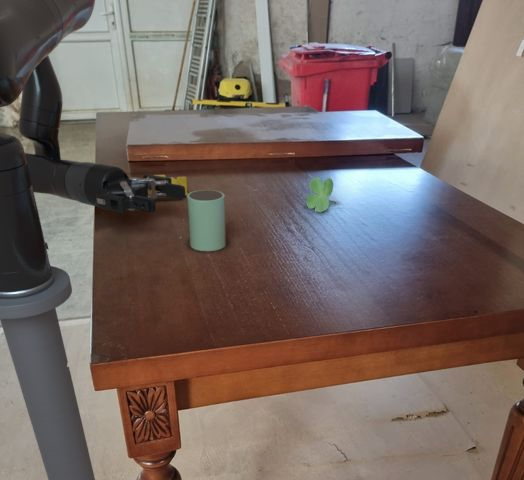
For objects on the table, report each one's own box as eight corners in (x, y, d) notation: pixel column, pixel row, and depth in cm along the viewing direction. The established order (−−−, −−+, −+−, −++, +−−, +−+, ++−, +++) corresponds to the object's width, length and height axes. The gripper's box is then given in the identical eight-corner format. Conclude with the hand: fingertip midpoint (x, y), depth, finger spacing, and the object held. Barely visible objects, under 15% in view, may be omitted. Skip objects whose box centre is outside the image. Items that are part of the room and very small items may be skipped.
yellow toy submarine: (138, 202, 109) (135, 178, 106) (138, 196, 112) (135, 173, 109) (188, 200, 111) (186, 176, 108) (186, 194, 114) (185, 171, 111)
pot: (191, 252, 87) (188, 201, 83) (188, 238, 92) (185, 190, 88) (228, 250, 88) (227, 199, 84) (223, 236, 94) (221, 188, 89)
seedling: (326, 229, 111) (308, 219, 106) (317, 197, 114) (300, 186, 109) (354, 212, 107) (338, 201, 102) (345, 180, 109) (328, 168, 104)
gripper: (64, 173, 88) (141, 187, 82) (120, 155, 99) (192, 167, 93) (72, 216, 93) (146, 233, 86) (125, 195, 103) (194, 208, 97)
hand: (169, 199), depth 90 cm, fingers open, 8 cm apart
